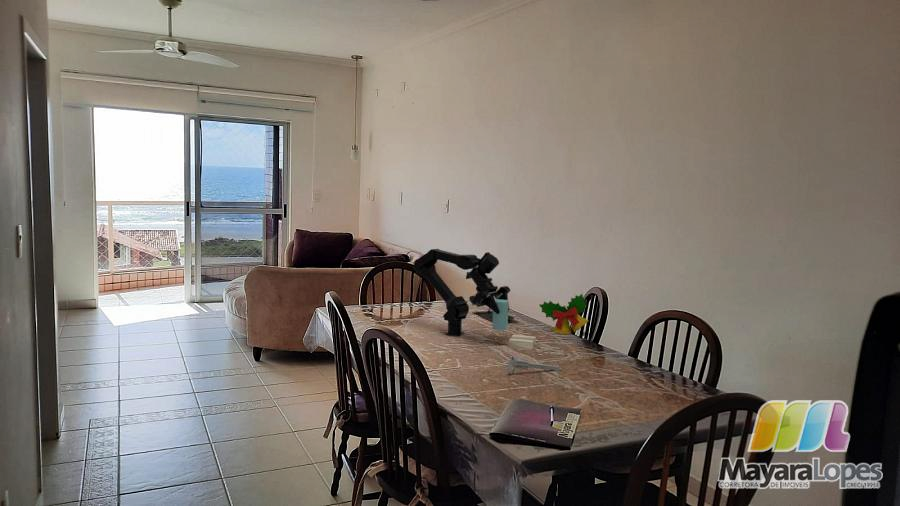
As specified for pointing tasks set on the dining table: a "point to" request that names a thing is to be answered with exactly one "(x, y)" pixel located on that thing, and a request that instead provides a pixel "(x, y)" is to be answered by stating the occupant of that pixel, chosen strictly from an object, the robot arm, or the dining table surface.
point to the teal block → (501, 315)
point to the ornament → (566, 314)
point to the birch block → (522, 342)
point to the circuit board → (489, 316)
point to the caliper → (528, 365)
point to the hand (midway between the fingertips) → (503, 312)
